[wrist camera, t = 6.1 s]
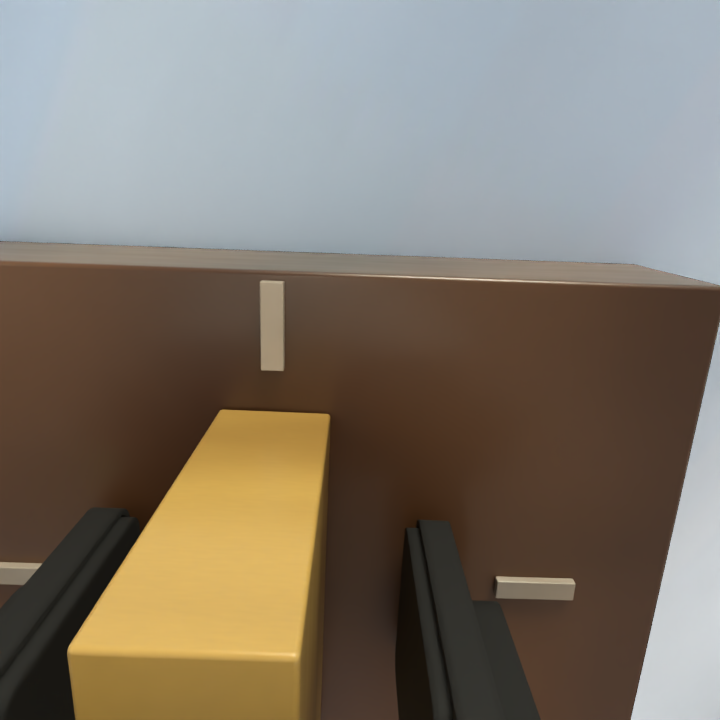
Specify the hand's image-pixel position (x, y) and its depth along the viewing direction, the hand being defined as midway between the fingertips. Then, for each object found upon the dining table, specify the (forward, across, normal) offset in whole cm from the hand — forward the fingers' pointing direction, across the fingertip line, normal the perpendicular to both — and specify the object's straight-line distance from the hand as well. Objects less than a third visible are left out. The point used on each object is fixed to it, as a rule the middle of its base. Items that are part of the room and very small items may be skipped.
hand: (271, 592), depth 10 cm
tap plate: (+3, 0, 0) cm, 3 cm away
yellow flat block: (0, 0, 0) cm, 0 cm away
